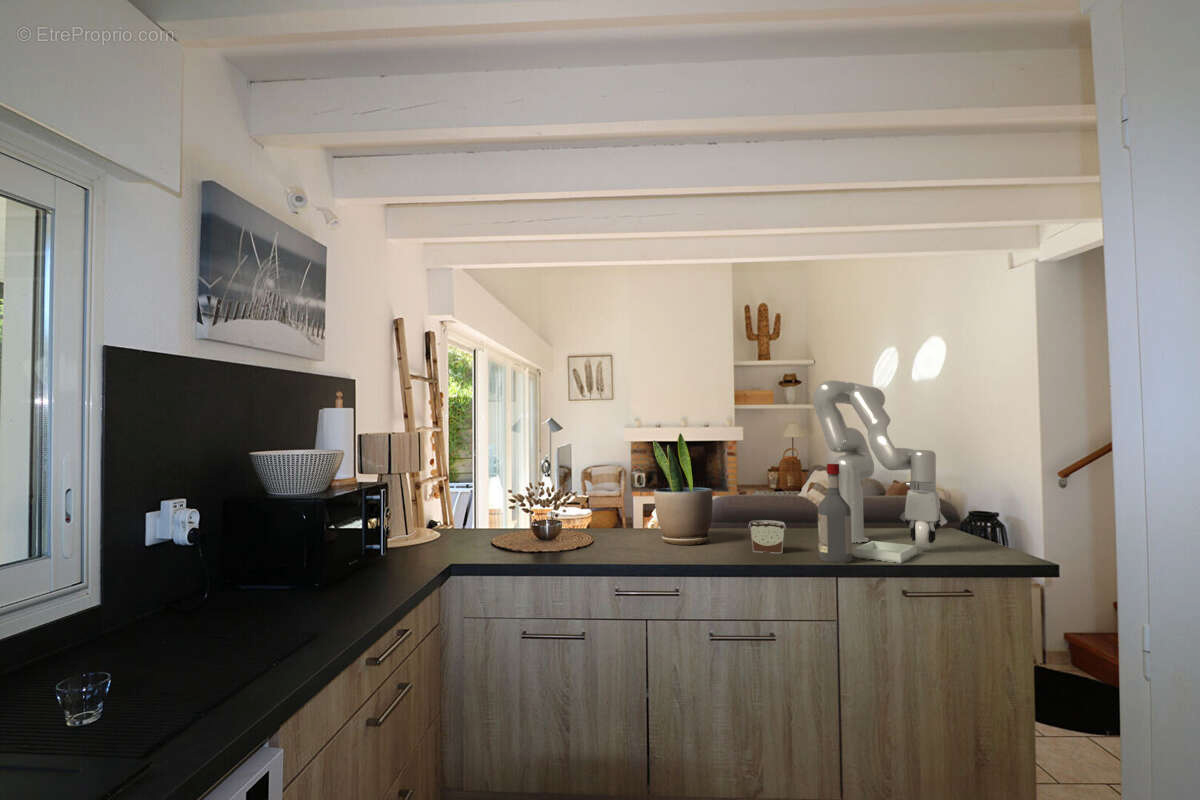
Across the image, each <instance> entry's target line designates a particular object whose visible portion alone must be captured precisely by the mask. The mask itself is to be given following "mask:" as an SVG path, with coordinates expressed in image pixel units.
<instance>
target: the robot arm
mask: <svg viewBox="0 0 1200 800" xmlns="http://www.w3.org/2000/svg"><path fill="white" fill-rule="evenodd" d="M885 402H886V397H885V394H884V392H883V391H882V390H881V389H879V388H878V387H875V386H869V385H864V384H860V383H855V382H851V381H844V380H843V381H842V380H841V381H840V380H826V381H823V382H822V383H820V384H819V385H818V386H817V387H816V388H815V390H814V393H813V397H812V404H813V405H812V406H813V408H814V410H815V413H816V416H817V418H818V421H819V423H820V424H819V425H820V427H821V430H822V432H823V436H824V439H825V441H826V444H827V447H828V448H829V450H830V451H831V452H834V453H837V454H838V453H839V454H840V453H841V454H842V453H843V455H840V456H838V457H836V459H835V460H834V461H833V462H832V464H839V474H838V475H839V492H840V496H841V497H842V498H843V499H844V501H845V502H846V503H847V504H848V505H849V507H850V509H851V537H852V544H862V543H861V542H867V543H868V541H869V540H870V539H869V538H868V537H866V536H865V533H864V532H865V531H864V529H865V527H864V495H863V494H864V493H863V487H862V485H861V484H862V483H861V480H862V481H863V480H868V479H870V477H872V476H873V474H874V472H875V464H874V460H873V457H872V454H871V451H872V452H873V454H874V456H875V457H876V459H877V461H878V462H879V464H880V465H881V466H882V467H883V468H884V469H886V470H888V471H907V470H909V471H910V480H909V481H906V482H905V486H906V487H908V488H909V489H908V490H907V492H906V496H905V497H906V499H905V505H904V506H905V508H904V511H903V512H902V513H901V514H900V515H899V519H900V520H901V521H903V522H904V523H905V524H906V525H907V526H908V527H909V529H910V535H909V536H910V538H911V540H912V541H913V542H915V521H924V522H929V524H930V528H931V529H930V531H929V543H931V544H933V543H934V542H935V541H936V530H939V528H940V527H942V526H944V525H946V524H947V523H948V520H947V519H946V518H945V517H944V515H943V514H942V512H941V511H942V510H941V502H940V495H939V491H936V489H937V487H936V484H937V481H936V479H937V478H936V477H937V475H936V474H937V472H936V470H937V469H936V467H937V456H936V452H935V451H934V450H932V449H931V450H930V449H913V448H912V449H911V448H906V447H902V448H901V447H895V445H894V443H893V442H892V441H891V439H890V437H889V435H888V429H887V428H888V426H889V425H890V424H891V418H890V416H889V414H888V413H887V412H886V410H885V409H884V405H885ZM836 404H846V405H851V406H852V407H853V409H854V411H855V412H856V413H857V415H858V417H859V418H860V420H861V422H862V423H863V425H864V427H865V428H866V431H867V437H868V443H869V446H870V447H869V446H868V443H867V440H866V438H865V436H864V434H863V433H862V432H861V431H860V430H858V429H856V428H853V427H848V426H847V425H846V422H845V420H844V416H843V414H842V412H841V410H840V409H839V408H838V407H837V405H836ZM869 448H870V449H871V451H870V449H869ZM844 453H845V454H844ZM938 521H939V522H938ZM936 522H937V523H936ZM854 542H855V543H854ZM856 542H858V543H856ZM869 542H870V541H869Z"/></svg>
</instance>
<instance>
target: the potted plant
mask: <svg viewBox="0 0 1200 800" xmlns="http://www.w3.org/2000/svg"><path fill="white" fill-rule="evenodd" d="M652 443H653V452H654V455H655V458H656V461H657V463H658V465H659V467H660V468H661V469H662V470H663V471H662V472H663V473H664V475H665V477H666V479H667V483H668V484H669V485H668V486H669V487H667V488H666V487H662V488H656V489H653V496H654V506H655V514H656V520H657V524H658V527H659V529H660V531H661V533H662V536H661V539H662V540H663V542H665V543H668V544H672V545H686V546H687V545H689V546H690V545H700V544H705V543H707V542H708V541H709V540H710V539H711V536H710V534H708V533H709V531H710V528H711V525H712V518H713V489H712V488H710V487H709V488H707V487H693V486H694V484H693V483H694V482H693V481H694V480H693V473H692V465H691V464H692V463H691V457H690V454H689V450H688V446H687V443H686V441H685V439H684V437H683V435H682V433H681V432H679V434H678V438H677V453H678V455H677V456H678V459H679V460H677V458H676V456H675V454H674V452H673V449H671V447H670V445H669V444H668V445H667V446H666V447H667V448H666V449H667V451H666V452H667V455H666V454H665V452H664V451H663V449H662V447H661V446H660V444H659V443H658V441H656V440H653V442H652ZM666 456H667V457H666ZM678 461H679V463H680V465H679V464H678ZM680 466H681V467H680ZM681 469H682V470H683V472H684V474H685V477H686V479H687V483H688V487H684V480H683V476H682V471H681Z"/></svg>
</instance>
